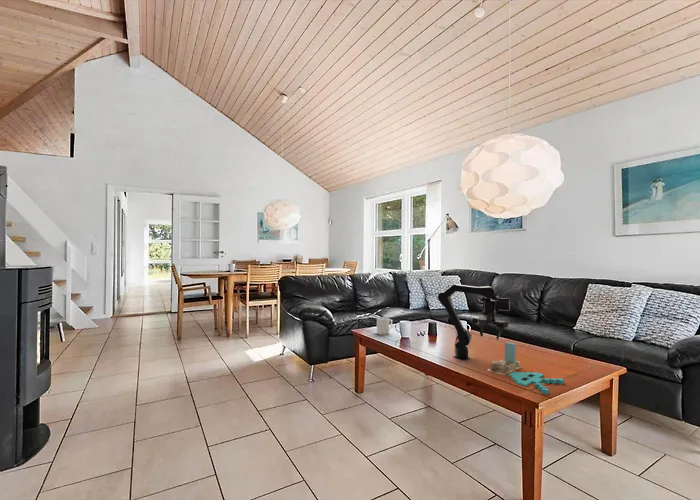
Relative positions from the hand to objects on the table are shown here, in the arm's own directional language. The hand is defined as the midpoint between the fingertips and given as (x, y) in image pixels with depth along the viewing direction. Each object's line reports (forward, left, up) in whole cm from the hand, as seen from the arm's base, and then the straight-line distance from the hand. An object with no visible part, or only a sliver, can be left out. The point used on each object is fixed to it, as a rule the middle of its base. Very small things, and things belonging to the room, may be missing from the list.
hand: (489, 337), depth 203 cm
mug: (-80, -14, -13) cm, 82 cm away
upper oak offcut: (+14, -10, -10) cm, 20 cm away
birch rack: (+13, -5, -13) cm, 19 cm away
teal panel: (+12, +1, -12) cm, 17 cm away
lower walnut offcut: (+14, -10, -12) cm, 21 cm away
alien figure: (+31, -7, -14) cm, 34 cm away
